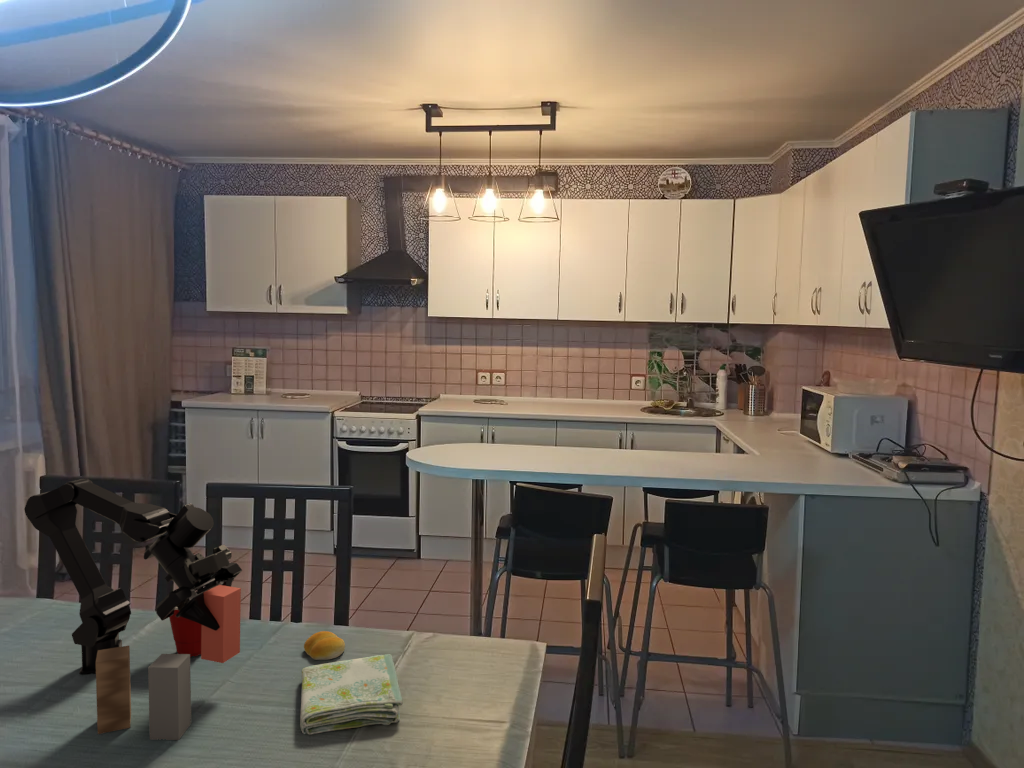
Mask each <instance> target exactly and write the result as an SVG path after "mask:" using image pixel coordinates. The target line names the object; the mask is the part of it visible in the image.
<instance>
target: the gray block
mask: <svg viewBox="0 0 1024 768" xmlns="http://www.w3.org/2000/svg"><path fill="white" fill-rule="evenodd" d="M147 668H148V669H147V671H148V673H147V674H148V676H147V677H148V717H149V718H148V719H149V720H148V721H149V722H148V724H149V740H150V741H151V740H153V741H154V740H155V741H179V740H180V739H181V738H182V736H183V735H184V734H185V733H186V731H187V730H188V729H189V727H190V726H191V725H192V690H191V684H192V683H191V677H192V676H191V675H192V674H191V657H190V654H178V653H161V654H159V656H158V657H157V658H156V659H155V660H153V662H152V663H151V664H150V665H149V666H148V667H147ZM190 724H191V725H190ZM158 739H159V740H158ZM161 739H163V740H161ZM164 739H166V740H164Z"/></svg>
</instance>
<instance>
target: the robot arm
mask: <svg viewBox="0 0 1024 768" xmlns="http://www.w3.org/2000/svg"><path fill="white" fill-rule="evenodd" d="M77 505H79V506H81V507H83V508H86V509H87V510H90V511H91V512H93V513H95V514H98V515H100V516H102V517H104V518H106V519H108V520H110V521H111V522H115V523H116V524H117V525H118V526H119V527H120V530H121V532H122V533H123V534H125V536H127V537H129V538H130V539H131V540H133V541H134V542H137V543H144V542H147V541H150V540H152V539H154V538H157V539H156V540H155V541H154V542H151V543H148V544H146V545H145V548H144V549H145V551H144V553H143V559H144V560H149V559H151V558H153V557H154V558H155V559H156V561H157V562H158V564H160V565H161V567H162V569H164V571H165V572H166V573H167V575H166V576H165V577H164V579H165V580H166V582H167V583H170V582H172V581H173V583H174V585H176V586H177V588H176V589H174V590H173V591H170V592H169V593H168V594H167V595H165V597H164V598H163V599H162V600H161V601H160V602H159V603H158V604H157V605H156V606H155V608H156V609H155V610H156V611H155V612H156V615H157V616H158V618H159V619H160V620H161V621H163V622H164V621H165V620H167V619H168V618H169V617H170V616H172V615H173V614H174V609H175V607H178V608H177V609H178V610H179V612H178V613H177V614H176V615H175V616H176V617H183V618H186V619H189V620H192V621H194V622H197V623H199V624H201V625H204V626H206V627H208V628H210V629H213V630H215V631H216V630H218V629H219V628H220V626H219V624H218V622H217V621H216V619H215V618H214V616H213V615H212V613H211V612H210V611H209V609H208V608H207V606H206V605H205V603H204V593H203V592H205V591H208V590H210V589H212V588H214V587H216V586H218V585H224V586H230V587H232V584H233V582H234V580H235V579H236V578H237V576H239V575H240V574H241V573H242V572H243V569H242V568H241V566H240V565H239V564H238V563H237V562H230V561H229V560H230V559H232V551H230V549H229V548H228V547H227V546H226V545H225V544H222V545H218V546H217V547H214V548H213V549H212V554H210V555H207V556H205V557H204V555H203V554H202V553H195V554H194V553H193V551H192V550H191V548H193V547H195V546H196V545H197V544H198V543H199V542H200V541H201V540H202V539H203V538H204V537H205V536H206V535H207V534H208V533H209V532H210V531H211V530H212V528H213V527H214V526H215V525H214V518H213V517H212V515H211V513H209V512H207V511H206V510H204V509H203V508H200V507H196V506H194V504H193V503H188V504H185V505H183V506H182V507H181V508H180V509H179V511H178V513H177V514H176V513H173V512H170V511H168V509H166V507H164V506H159V505H155V504H152V503H140V502H139V503H138V502H135V501H131V500H129V499H127V498H125V497H123V496H120V495H119V494H117V493H114V492H113V491H110V490H108V489H106V488H104V487H103V486H102V487H101V486H99V485H97V484H96V483H94V482H93V481H92V480H91V479H88V478H80V479H76V480H72V481H71V480H70V481H68V482H65V484H62V485H61V486H60V487H59V486H58V487H57V488H55V489H53V490H50V491H46V492H45V491H44V492H42V493H38V494H34V495H32V496H30V497H28V499H27V500H26V504H25V506H24V509H23V511H24V514H25V516H26V518H27V519H28V520H29V523H31V525H32V526H33V528H34V529H35V530H37V531H39V532H41V533H42V534H44V535H45V536H47V537H48V538H49V539H50V541H51V544H53V547H54V548H55V551H56V552H57V555H58V557H59V558H60V560H61V562H62V564H63V566H64V568H65V570H66V571H67V573H68V576H69V578H70V579H71V581H72V583H73V585H74V587H75V589H76V591H77V593H78V594H79V597H80V606H79V608H80V609H79V617H80V621H81V624H80V625H79V626H78V627H76V629H74V631H73V632H72V633H71V638H72V640H73V643H74V644H75V645H78V646H79V645H80V646H81V667H80V669H79V675H83V674H94V673H95V674H96V658H97V652H98V650H103V649H110V648H116V647H123V640H122V639H120V636H119V635H120V633H121V632H124V631H125V630H126V628H127V625H128V623H129V621H130V619H131V618H130V617H131V615H132V610H131V607H130V605H131V602H130V601H129V600H128V599H127V597H126V595H125V592H124V590H123V588H121V587H119V588H116V589H113V588H112V587H110V586H108V585H107V583H106V581H105V579H104V578H103V575H102V573H101V572H100V570H99V568H98V566H97V564H96V562H95V560H94V558H93V556H92V555H91V554H92V553H91V552H90V550H89V548H88V547H87V545H86V542H85V541H84V539H83V537H82V536H81V533H80V531H79V529H78V527H77V517H78V509H77ZM169 619H170V618H169Z"/></svg>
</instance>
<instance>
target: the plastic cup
mask: <svg viewBox="0 0 1024 768" xmlns="http://www.w3.org/2000/svg"><path fill="white" fill-rule="evenodd" d="M177 608H178V607H175V609H174V614H173V615H172V616H170V617H169V622H170V626H171V627H170V628H171V633H172V637H173V640H174V644H175V649H176V652H177V654H190V658H192V656H194V657H197V656H201V628H202V625H201V624H199V623H197V622H194V621H192V620H189V619H186V618H183V617H176V616H175V615H176V614H177V613H178V612H179V610H178V609H177Z"/></svg>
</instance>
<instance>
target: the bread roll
mask: <svg viewBox="0 0 1024 768" xmlns="http://www.w3.org/2000/svg"><path fill="white" fill-rule="evenodd" d="M303 648H304V652H305V653H306V655H308V656H309V657H310V658H311V659H313V660H315V661H327V660H332V659H336V658H338V657H339V656H341V655H342V654H343V653H344V651H345V649H346V644H345V641H344V639H343V638H340V637H339V636H337V634H336V633H333V632H332V631H327V630H321V631H318V632H314V633H313V634H312V635H311V636H310V637H308V638H307V639H306V640H305V642H304V644H303Z"/></svg>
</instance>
